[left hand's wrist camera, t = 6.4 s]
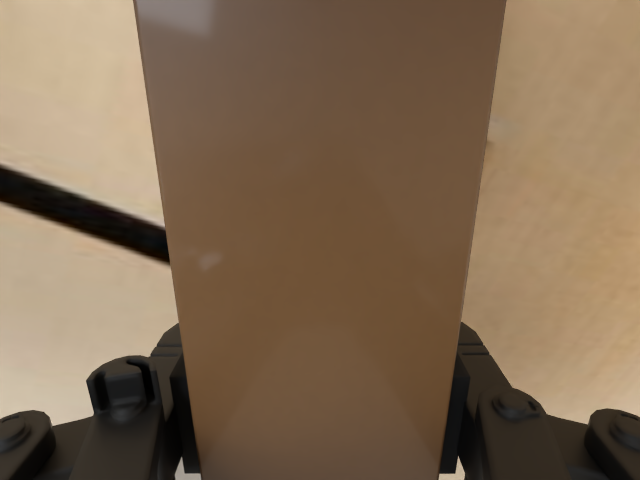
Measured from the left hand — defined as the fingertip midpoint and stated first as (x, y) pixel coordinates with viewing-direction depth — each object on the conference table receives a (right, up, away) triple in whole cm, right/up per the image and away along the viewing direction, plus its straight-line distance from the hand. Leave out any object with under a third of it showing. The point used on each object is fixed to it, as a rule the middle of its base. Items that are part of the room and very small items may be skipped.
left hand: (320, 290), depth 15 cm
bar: (0, +9, -3) cm, 9 cm away
